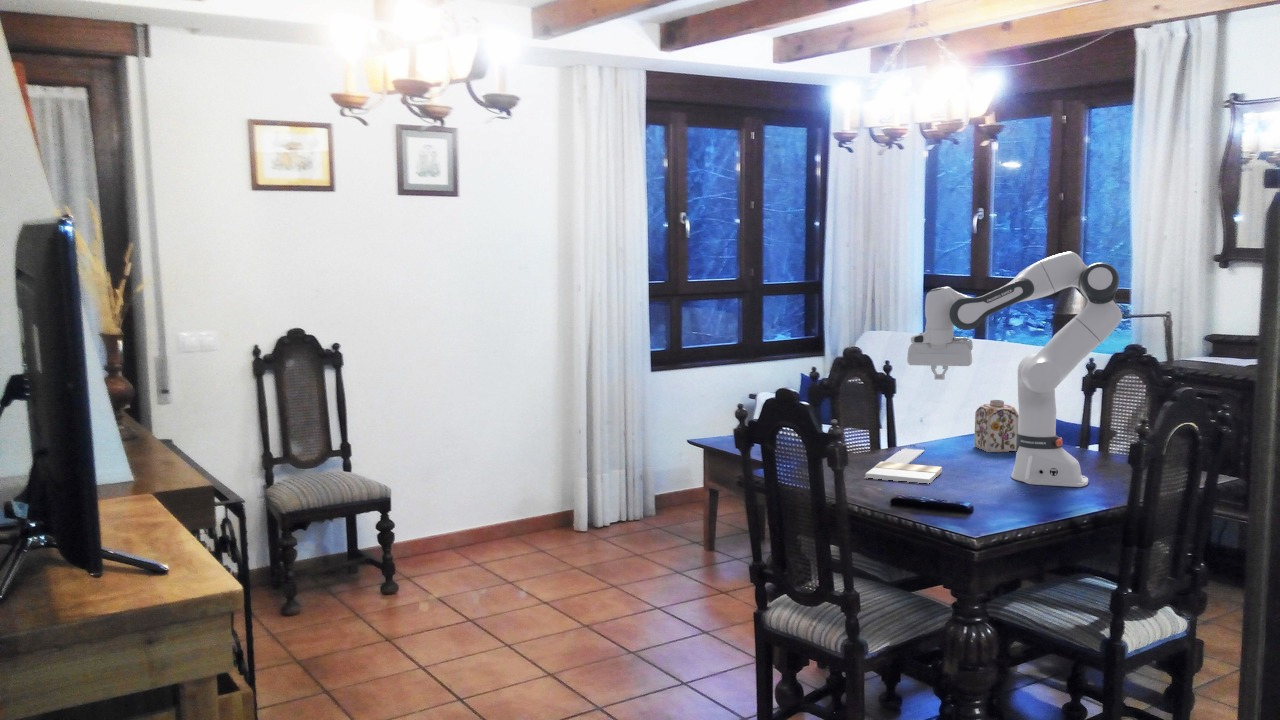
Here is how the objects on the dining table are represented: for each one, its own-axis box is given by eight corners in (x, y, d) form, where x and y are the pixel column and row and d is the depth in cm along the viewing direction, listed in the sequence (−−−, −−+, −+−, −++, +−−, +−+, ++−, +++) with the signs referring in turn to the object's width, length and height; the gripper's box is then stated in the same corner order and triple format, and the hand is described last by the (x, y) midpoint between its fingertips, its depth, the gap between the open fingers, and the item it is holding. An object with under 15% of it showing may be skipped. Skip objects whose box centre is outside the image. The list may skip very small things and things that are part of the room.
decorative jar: (973, 447, 379) (974, 398, 377) (1003, 446, 380) (1005, 397, 379) (987, 453, 367) (989, 403, 366) (1019, 452, 369) (1020, 402, 367)
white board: (936, 478, 328) (936, 473, 327) (929, 484, 319) (929, 479, 319) (873, 472, 337) (873, 467, 337) (865, 478, 328) (865, 473, 328)
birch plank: (941, 471, 335) (941, 466, 335) (936, 477, 328) (936, 472, 328) (880, 466, 344) (880, 461, 344) (874, 471, 337) (874, 466, 337)
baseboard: (874, 467, 348) (904, 470, 343) (875, 458, 348) (904, 461, 343) (897, 451, 374) (924, 454, 370) (897, 443, 374) (925, 446, 369)
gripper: (974, 336, 333) (974, 379, 334) (910, 336, 342) (910, 377, 344) (970, 338, 327) (970, 381, 329) (905, 337, 337) (906, 379, 338)
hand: (939, 379), depth 336 cm, fingers closed
